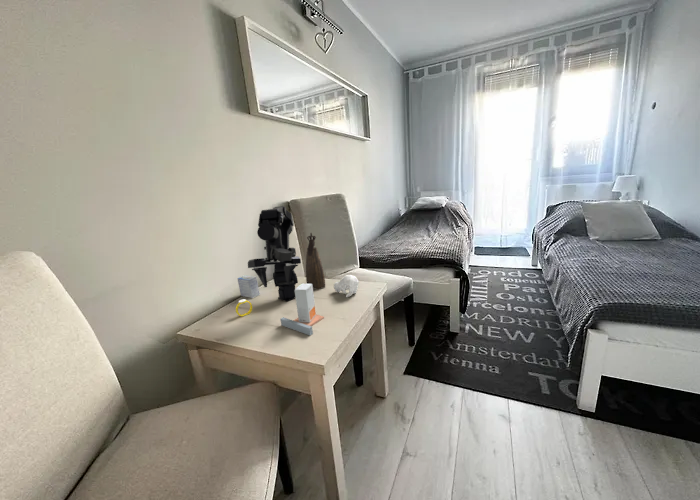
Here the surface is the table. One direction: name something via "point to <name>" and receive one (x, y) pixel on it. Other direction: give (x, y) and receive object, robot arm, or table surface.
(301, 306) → the skincare box
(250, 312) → the watch
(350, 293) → the white animal figurine
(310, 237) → the statue
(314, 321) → the terracotta tile
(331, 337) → the table surface
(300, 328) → the low wall
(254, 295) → the medicine box
